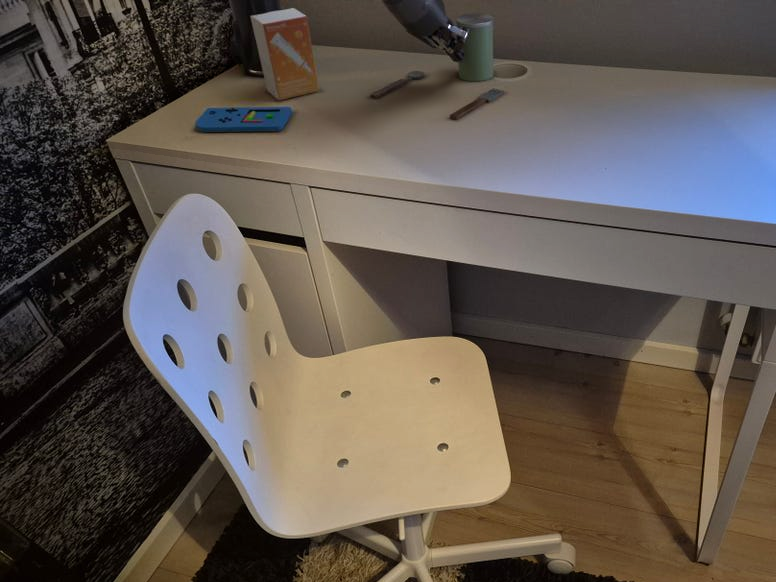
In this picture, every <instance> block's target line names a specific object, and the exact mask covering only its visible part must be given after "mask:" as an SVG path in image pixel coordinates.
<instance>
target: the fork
mask: <svg viewBox="0 0 776 582" xmlns="http://www.w3.org/2000/svg"><path fill="white" fill-rule="evenodd" d="M504 94H505V90H501V89H498V88H496V89H495V88H494V87H493V88H491V89H490V90H487V91H486V92H483V93H481V94H480V95H478V96H477V98H476V99H475V100H473V101H471V102H470V103H467V104H466V105H465V106H463V107H461V108H459V109H458V110H456V111H454V112H452V113H451V114H449V118H450V119H451V120H455V121H458V120H459V119H461V118H463V117H464V116H466V115H468V114H469V113H470V112H472V111H474V110H476V109H478V108H479V107H482V106H483V105H484V104H486V103H491V102H493V101H494V100H496V99H498V98H499V97H501V96H502V95H504Z"/></svg>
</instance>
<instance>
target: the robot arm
mask: <svg viewBox="0 0 776 582" xmlns="http://www.w3.org/2000/svg"><path fill="white" fill-rule="evenodd" d="M228 2H229V3H228V4H229V6H230V10H231V14H232V18H233V19H232V21H231V27H232V30H233V35H232V37H231V39H230V41H229V42H230V43H229V44H230V49H229V53H230V54H229V55H230V56H231V58H232V60H234V62H235V63H236V64H237V66H238V67H240V66H242V70H243V74H244V75H245V76H256V77H264V73H263V69H262V65H261V61H260V56H259V51H258V47H257V43H256V38H255V34H254V30H253V25H252V21H251V17H250V16H254V15H259V14H264V13H268V12H273V11H280V10H283V6H282V1H281V0H228ZM381 2H382V3H383V5H384V6H385V7H386V9H387V10H388V12H389V13H390V14H391V15H392V16H393V17H394V18H395V20H397V21H398V23H399V24H400V25H401V26H402V27H403V28H404V29H405V31H406V33H407V34H409V35H411V36H413V38H416V39H418V40H419V41H421V42H422V43H424V44H426V45H428V46H429V47H431V48H432V49H437V48H438V49H439V51H441V52H443V53H446V55H447V56H448V57H449V58H450V59H451V60H452V62H454V63H458V62H459V63H461V62H462V61H463V58H464V56H465V51H464V50H463V49H462V47H463V45H464V43H465V40H466V38H467V35H468V33H469V28H467V27H463V28H459V29H458V28H457V26H455V23H454V21H453V20H452V19H450V18H449V17H448V15H447V13H446V12H447V11H446V7H445V2H444V0H381ZM239 57H240V58H239Z"/></svg>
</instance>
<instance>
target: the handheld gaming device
mask: <svg viewBox="0 0 776 582" xmlns="http://www.w3.org/2000/svg"><path fill="white" fill-rule="evenodd" d="M292 114H293V109H292V107H291V106H257V107H255V106H252V107H251V106H247V107H246V106H245V107H241V106H240V107H239V106H238V107H207V108H206V109H205V110H204V111H203V113H202V114H200V116H199V117H198V118H197V119H196V121H195V123H194V125H195V128H196V130H197V131H199V132H203V133H229V132H231V133H234V132H235V133H236V132H239V133H241V132H243V133H244V132H281V131H282V130H283V129H284V128H285V125H286V124H287V122H288V121H289V119H290V117H291V116H292Z"/></svg>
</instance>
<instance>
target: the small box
mask: <svg viewBox="0 0 776 582" xmlns="http://www.w3.org/2000/svg"><path fill="white" fill-rule="evenodd" d="M250 17H251V21H252V25H253V30H254V34H255V38H256V43H257V47H258V51H259V56H260V61H261V65H262V69H263V73H264V76H263V77H264V81H265V86H266V90H267V92H268V93H270V95H272V96H273V97H274V98H275V99H277V100H278V101H283V100H286V99H287V100H288V99H291V98H295V97H298V96H299V97H300V96H304V95H308V94H313V93H318V92H320V85H319V80H318V74H317V68H316V67H317V66H316V62H315V57H314V51H313V46H312V40H311V34H310V28H309V22H308V17H307V15H305V14H304V13H302V12H301V11H299V10H298V9H296V8H295V7H291V8H288V9H282V10H280V11H273V12H268V13H264V14H259V15H254V16H250Z"/></svg>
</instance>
